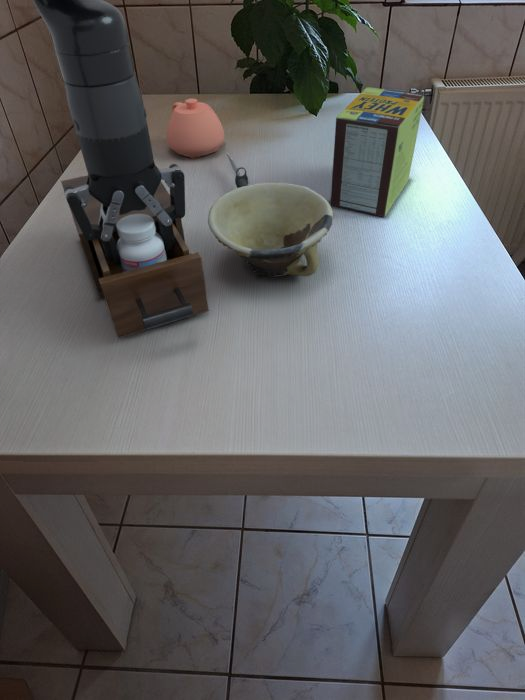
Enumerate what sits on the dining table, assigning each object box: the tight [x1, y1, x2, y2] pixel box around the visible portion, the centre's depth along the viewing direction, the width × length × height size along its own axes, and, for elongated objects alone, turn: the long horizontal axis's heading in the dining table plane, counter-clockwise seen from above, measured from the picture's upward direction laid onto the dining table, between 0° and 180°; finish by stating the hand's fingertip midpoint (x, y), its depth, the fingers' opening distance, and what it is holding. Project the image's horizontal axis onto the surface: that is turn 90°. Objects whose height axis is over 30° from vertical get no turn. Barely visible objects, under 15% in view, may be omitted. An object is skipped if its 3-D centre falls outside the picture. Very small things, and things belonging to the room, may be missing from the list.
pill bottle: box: [116, 214, 167, 272], centre depth 65 cm, size 6×6×11 cm
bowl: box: [207, 182, 334, 278], centre depth 73 cm, size 18×18×10 cm
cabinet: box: [60, 174, 186, 299], centre depth 76 cm, size 17×14×11 cm
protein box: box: [329, 86, 425, 218], centre depth 87 cm, size 10×15×16 cm
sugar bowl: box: [166, 98, 226, 160], centre depth 105 cm, size 12×14×10 cm
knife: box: [226, 151, 249, 189], centre depth 93 cm, size 19×2×5 cm, turn 16°
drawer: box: [91, 221, 210, 339], centre depth 67 cm, size 21×13×9 cm, turn 24°
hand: (142, 254), depth 65 cm, fingers closed on pill bottle, 6 cm apart
